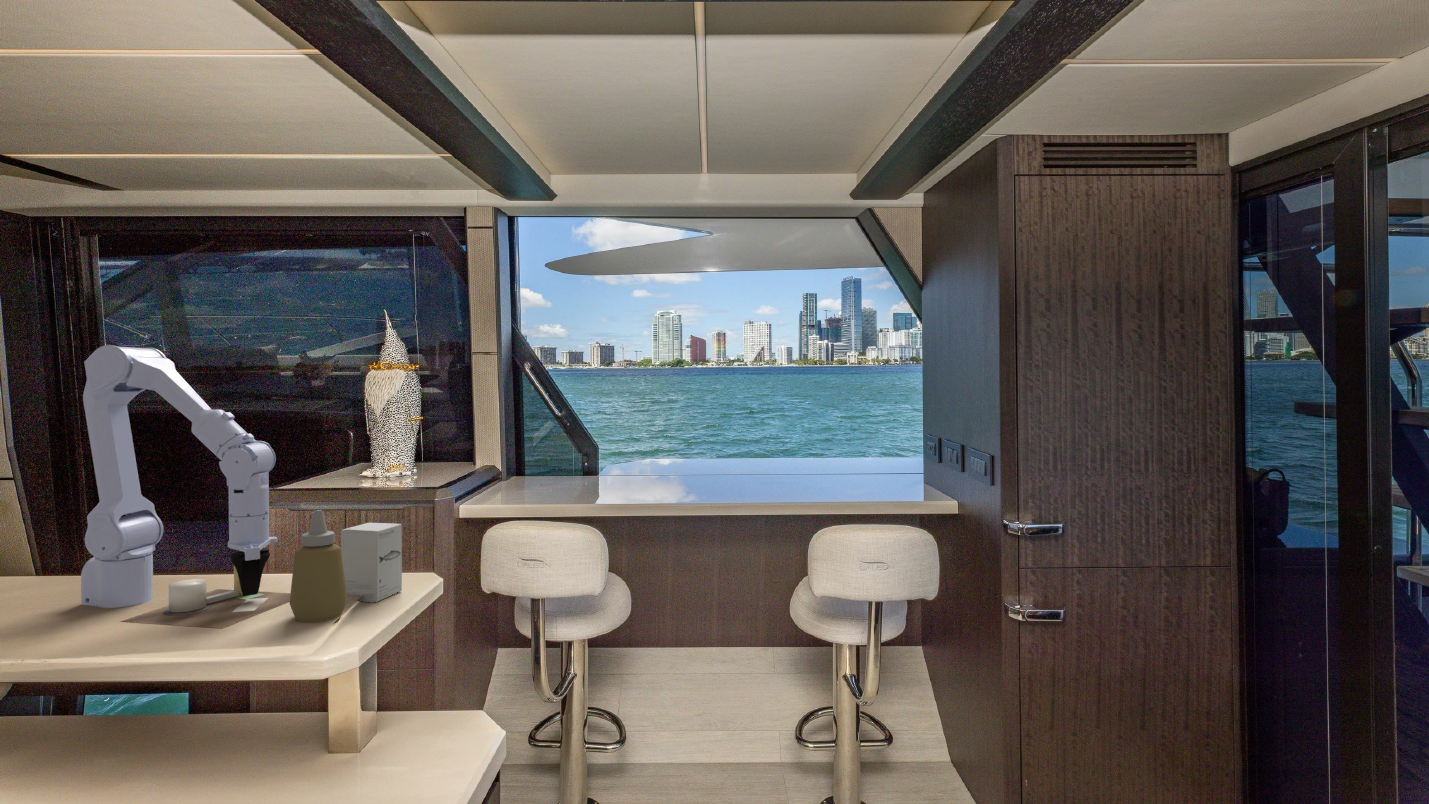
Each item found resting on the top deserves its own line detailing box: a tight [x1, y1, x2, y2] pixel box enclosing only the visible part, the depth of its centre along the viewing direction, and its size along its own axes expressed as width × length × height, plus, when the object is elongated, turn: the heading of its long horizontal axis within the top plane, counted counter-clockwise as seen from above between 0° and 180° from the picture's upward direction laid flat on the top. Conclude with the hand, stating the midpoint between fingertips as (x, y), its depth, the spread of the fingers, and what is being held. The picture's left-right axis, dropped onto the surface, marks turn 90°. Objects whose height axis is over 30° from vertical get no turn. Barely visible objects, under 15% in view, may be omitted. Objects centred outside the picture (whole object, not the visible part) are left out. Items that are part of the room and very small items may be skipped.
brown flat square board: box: [119, 588, 291, 630], centre depth 120 cm, size 18×18×1 cm
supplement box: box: [340, 522, 403, 603], centre depth 131 cm, size 7×7×13 cm
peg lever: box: [167, 565, 243, 612], centre depth 122 cm, size 13×5×5 cm, turn 155°
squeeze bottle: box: [289, 509, 348, 625], centre depth 116 cm, size 8×8×18 cm
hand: (250, 594), depth 123 cm, fingers closed
